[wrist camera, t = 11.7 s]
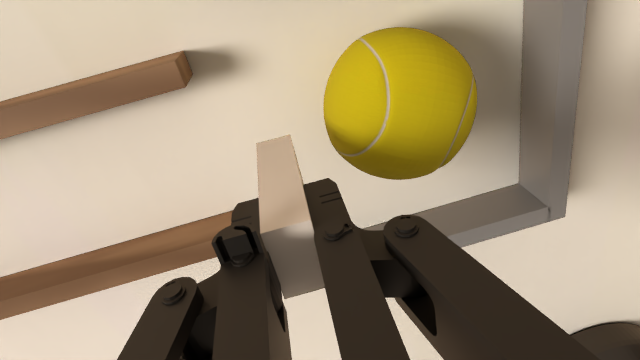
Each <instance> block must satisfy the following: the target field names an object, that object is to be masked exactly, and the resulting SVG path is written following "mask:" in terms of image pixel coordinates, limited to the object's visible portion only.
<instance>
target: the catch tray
mask: <svg viewBox="0 0 640 360" xmlns="http://www.w3.org/2000/svg"><path fill="white" fill-rule="evenodd" d="M586 10H587V0H524V11H523V48H522V86H521V123H520V160H519V184H515V185H512V186H509V187H505V188H502V189H498V190H495V191H491V192H488V193H485V194H481V195H478V196H474V197H471V198H467V199H464V200H461V201H457V202H454V203H450V204H447V205H443V206H440V207H437V208H433V209H430V210H426V211H423V212H419V213H416V214H413V215H415V216H420V217H421V218H423V219H425V220H427V221H428V222H429V223H430V224H432V225H433V226H434V227H435V228H437V229H438V230H439V231H440V232H442V233H443V234H444V235H445V236H447V237H448V238H449V239H450V240H452V241H453V242H454V243H455V244H457V245H458V246H459V247H460V248H461V247H465V246H468V245H471V244H475V243H478V242H482V241H485V240H488V239H492V238H495V237H499V236H502V235H505V234H509V233H512V232H516V231H519V230H522V229H526V228H529V227H533V226H536V225H539V224H543V223H546V222H550V221H553V220H556V219H560V218H563V217H565V214H566V204H567V194H568V184H569V175H570V165H571V155H572V146H573V136H574V126H575V116H576V107H577V97H578V87H579V78H580V68H581V58H582V48H583V39H584V29H585V19H586ZM386 223H387V222H385V223H382V224H378V225H375V226H371V227H368V228H365V229H364V230H374V231H375V230H383V229H384V226H385V224H386Z"/></svg>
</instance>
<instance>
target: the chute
mask: <svg viewBox="0 0 640 360" xmlns="http://www.w3.org/2000/svg"><path fill="white" fill-rule="evenodd" d="M192 75H193V74H192V71H191V69H190V66H189V64H188V61H187V59H186V56H185V54H184V51H180V52H177V53H173V54H170V55H166V56H162V57H159V58H155V59H152V60H148V61H144V62H141V63H137V64H134V65H130V66H127V67H123V68H119V69H116V70H112V71H109V72H105V73H101V74H98V75H94V76H91V77H87V78H83V79H80V80H76V81H73V82H69V83H66V84H62V85H58V86H55V87H51V88H48V89H44V90H40V91H37V92H33V93H30V94H26V95H23V96H19V97H15V98H12V99H8V100H5V101H1V102H0V139H3V138H6V137H10V136H14V135H17V134H21V133H24V132H28V131H31V130H35V129H38V128H42V127H46V126H49V125H53V124H56V123H60V122H63V121H67V120H70V119H74V118H78V117H81V116H85V115H88V114H92V113H95V112H99V111H103V110H106V109H110V108H113V107H117V106H120V105H124V104H127V103H131V102H135V101H138V100H142V99H145V98H149V97H152V96H156V95H159V94H163V93H167V92H170V91H174V90H177V89H181V88H184V87H186V86H187V84H188V82H189V80H190V78H191V77H192ZM232 212H233V211H230V212H226V213H223V214H219V215H216V216H212V217H209V218H205V219H202V220H199V221H195V222H192V223H188V224H185V225H181V226H178V227H174V228H171V229H167V230H164V231H160V232H157V233H153V234H150V235H147V236H143V237H140V238H136V239H133V240H129V241H126V242H122V243H119V244H115V245H112V246H108V247H105V248H102V249H98V250H95V251H91V252H88V253H84V254H81V255H77V256H74V257H70V258H67V259H63V260H60V261H56V262H53V263H50V264H46V265H43V266H39V267H36V268H32V269H29V270H25V271H22V272H18V273H15V274H11V275H8V276H5V277H1V278H0V320H2V319H5V318H8V317H12V316H15V315H19V314H22V313H26V312H29V311H33V310H36V309H39V308H43V307H46V306H50V305H53V304H57V303H60V302H63V301H67V300H70V299H74V298H77V297H81V296H84V295H87V294H91V293H94V292H98V291H101V290H105V289H108V288H112V287H115V286H118V285H122V284H125V283H129V282H132V281H136V280H139V279H142V278H146V277H149V276H153V275H156V274H160V273H163V272H167V271H170V270H173V269H177V268H180V267H184V266H187V265H191V264H194V263H197V262H201V261H204V260H208V259H211V258H215V257H217V255H216V253H215V251H214V249H213V246H212V244H211V242H212V240H213V238H214V236H215V235H216V234H217V233H218V232H219V231H221V230H222V229H224V228H226V227H228V226H230V225H231V223H232V222H231V217H232Z"/></svg>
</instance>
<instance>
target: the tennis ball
mask: <svg viewBox="0 0 640 360" xmlns="http://www.w3.org/2000/svg"><path fill="white" fill-rule="evenodd" d="M476 107H477V89H476V83H475V79H474V75H473V73H472V70H471V68H470V66H469V64H468V63H467V61H466V60H465V59H464V57H463V56H462V55H461V54H460V53H459V52H458V51H457V50H456V49H455V48H454V47H453V46H452V45H451V44H449V43H448V42H446V41H445V40H444V39H442V38H440V37H438V36H436V35H434V34H432V33H429V32H426V31H423V30H419V29H414V28H406V27H394V28H386V29H382V30H378V31H374V32H372V33H369V34H366V35H364V36H362V37H360V38H359V39H358V40H356V41H355V42H353V43H352V44H351V45H350V46H349V47H348V48H347V49H346V50H345V52H344V53H343V54H342V55H341V57H340V58H339V59H338V61H337V62H336V64H335V66H334V68H333V70H332V72H331V74H330V77H329V79H328V82H327V86H326V90H325V95H324V119H325V125H326V129H327V132H328V135H329V138H330V141H331V143H332V145H333V146H334V148H335V149H336V151H337V152H338V153H339V154H340V155H341V156H342V157H343V158H344V159H345V160H346V161H348V162H349V163H350V164H352V165H353V166H354V167H356V168H358V169H359V170H361V171H363V172H365V173H368V174H370V175H373V176H377V177H381V178H386V179H396V180H401V179H412V178H417V177H421V176H425V175H428V174H430V173H432V172H434V171H435V170H437V169H438V168H440V167H442V166H444V165H446V164H447V163H448V162H449V161H451V159H452V158H453V157H454V156H455V155H456V154H457V153H458V151H459V150H460V149H461V147H462V146H463V144H464V143H465V141H466V139H467V137H468V135H469V133H470V131H471V128H472V125H473V122H474V118H475V114H476Z"/></svg>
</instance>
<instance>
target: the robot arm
mask: <svg viewBox="0 0 640 360" xmlns="http://www.w3.org/2000/svg"><path fill="white" fill-rule="evenodd" d="M257 168H258V192H259V198H256V199H253V200H249V201H245V202H242V203H238V204H237V205H236V207H235V209H234V210H233V212H232V217H231V222H232V223H231V225H230V226H228V227H226V228H224V229H222V230H221V231H219V232H218V233H217V234H216V235H215V236H214V238H213V240H212V242H211V244H212V246H213V249H214V251H215V253H216V255H217V257H218V259H219V262H220V264H221V268H220V270H219V271H218V272H217V273H216V274H214V275H213V276H211V277H209V278H207V279H205V280H203V281H201V282H200V283H198V284H197V283H196V281H195V280H194V279H192V278H190V277H181V278H177V279H174V280H172V281H170V282H168V283H166V284H164V285H163V286H162V287H161V288H159V289H158V290H157V292H156V293H155V294H154V295H153V297H152V299H151V300H150V302H149V304H148V306H147V307H146V309H145V311H144V313H143V315H142V316H141V318H140V320H139V322H138V323H137V325H136V327H135V329H134V330H133V332H132V334H131V336H130V338H129V339H128V341H127V343H126V345H125V346H124V348H123V350H122V352H121V354H120V355H119V357H118V359H117V360H292V357H291V348H290V339H289V330H288V321H287V312H286V309H285V307H284V304H283V301H282V293H283V296H284V299H287V298H290V297H294V296H297V295H301V294H305V293H308V292H312V291H315V290H319V289H322V288H325V289H326V294H327V298H328V302H329V307H330V311H331V315H332V320H333V324H334V328H335V333H336V337H337V341H338V345H339V350H340V354H341V358H342V360H410V358H409V356H408V353H407V351H406V348H405V346H404V344H403V341H402V339H401V336H400V334H399V331H398V329H397V326H396V324H395V321H394V319H393V316H392V314H391V311H390V309H389V307H388V304H387V302H386V299H385V298H395V300H396V302H397V303H398V304H399V305H400V307H401V308H402V309H403V310H404V312H405V313H406V314H407V315H408V316H409V318H410V319H411V320H412V321H413V322H414V324H415V325H416V326H417V327H418V329H419V330H420V331H421V332H422V333H423V335H424V336H425V337H426V338H427V340H428V341H429V342H430V343H431V344H432V346H433V347H434V348H435V349H436V350H437V352H438V353H439V354H440V355H441V357H442V358H443V359H444V360H640V326H638V325H634V324H628V323H614V324H606V325H601V326H597V327H593V328H590V329H587V330H584V331H581V332H578V333H576V334H574V335H571V336H570V335H569V334H568V333H566V332H565V331H564V330H563V329H561V328H560V327H559V326H558V325H556V324H555V323H554V322H553V321H551V320H550V319H549V318H548V317H546V316H545V315H544V314H543V313H541V312H540V311H539V310H538V309H536V308H535V307H534V306H533V305H531V304H530V303H529V302H528V301H526V300H525V299H524V298H523V297H521V296H520V295H519V294H518V293H516V292H515V291H514V290H513V289H511V288H510V287H509V286H508V285H506V284H505V283H504V282H503V281H501V280H500V279H499V278H498V277H497V276H495V275H494V274H493V273H492V272H490V271H489V270H488V269H487V268H485V267H484V266H483V265H482V264H480V263H479V262H478V261H477V260H475V259H474V258H473V257H472V256H470V255H469V254H468V253H467V252H465V251H464V250H463V249H462V248H460V247H459V246H458V245H457V244H455V243H454V242H453V241H452V240H450V239H449V238H448V237H447V236H445V235H444V234H443V233H442V232H440V231H439V230H438V229H437V228H435V227H434V226H433V225H432V224H430V223H429V222H428V221H427V220H425V219H423V218H421V217H420V216H415V215H401V216H397V217H394V218H392V219H391V220H389V221H388V222H387V223H386V224H385V226H384V229H383V230H375V231H374V230H364V229H361V228H358V227H357V226H355V225H354V224H353V222H352V221H351V219H350V217H349V214H348V212H347V209H346V207H345V204H344V202H343V199H342V197H341V194H340V192H339V189H338V187H337V184H336V183H335V182H333V181H332V180H330V179H329V178H327V179H323V180H319V181H316V182H312V183H308V184H304V183H303V180H302V176H301V172H300V169H299V165H298V162H297V158H296V154H295V151H294V147H293V144H292V140H291V136H290V135H286V136H283V137H279V138H275V139H271V140H268V141H264V142H260V143H257ZM281 291H282V293H281Z"/></svg>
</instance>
